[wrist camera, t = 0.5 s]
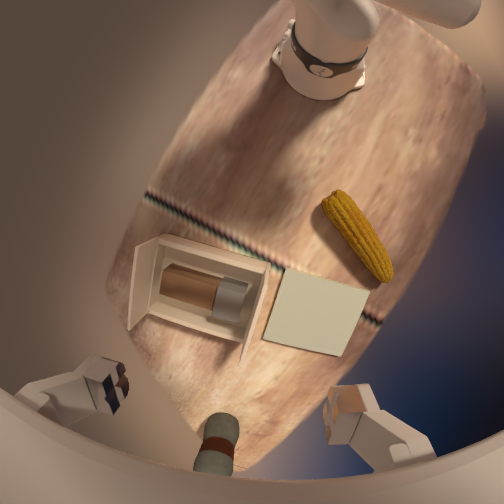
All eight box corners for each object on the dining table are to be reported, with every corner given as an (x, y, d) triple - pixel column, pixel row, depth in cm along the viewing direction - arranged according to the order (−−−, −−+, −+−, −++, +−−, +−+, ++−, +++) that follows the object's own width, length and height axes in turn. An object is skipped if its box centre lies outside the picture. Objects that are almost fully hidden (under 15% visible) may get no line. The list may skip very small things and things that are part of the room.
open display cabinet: (164, 232, 54) (134, 245, 41) (270, 262, 53) (269, 286, 41) (153, 302, 57) (126, 329, 45) (249, 332, 57) (242, 368, 44)
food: (315, 204, 50) (320, 206, 44) (337, 185, 49) (344, 184, 43) (377, 284, 53) (387, 294, 47) (396, 266, 51) (409, 275, 46)
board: (285, 267, 53) (285, 268, 52) (368, 289, 53) (369, 292, 52) (263, 336, 57) (262, 338, 56) (339, 353, 57) (340, 356, 55)
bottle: (201, 419, 65) (172, 505, 36) (221, 406, 63) (196, 501, 34) (226, 435, 66) (207, 520, 37) (248, 423, 64) (234, 515, 35)
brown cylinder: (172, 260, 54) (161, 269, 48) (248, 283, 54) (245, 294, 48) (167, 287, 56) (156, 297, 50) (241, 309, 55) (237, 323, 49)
